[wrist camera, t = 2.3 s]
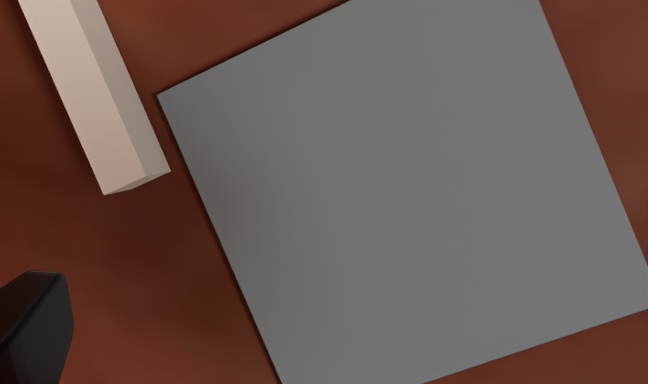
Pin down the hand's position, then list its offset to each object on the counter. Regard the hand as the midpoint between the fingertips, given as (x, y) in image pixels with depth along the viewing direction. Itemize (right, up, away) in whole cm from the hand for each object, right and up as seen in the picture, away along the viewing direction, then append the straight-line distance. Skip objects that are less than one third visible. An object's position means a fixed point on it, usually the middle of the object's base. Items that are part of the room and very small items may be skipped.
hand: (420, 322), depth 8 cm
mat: (+1, +2, +12) cm, 12 cm away
